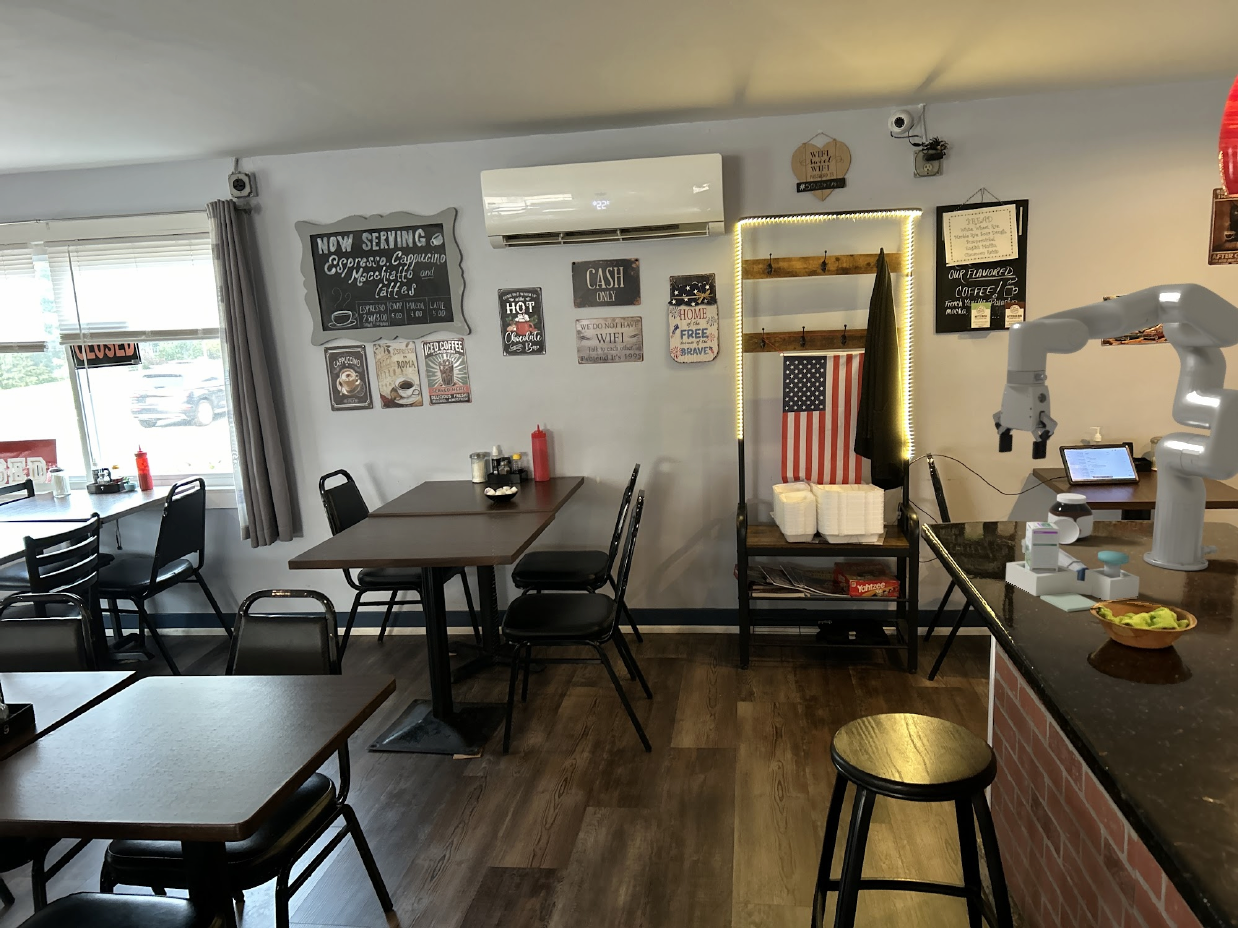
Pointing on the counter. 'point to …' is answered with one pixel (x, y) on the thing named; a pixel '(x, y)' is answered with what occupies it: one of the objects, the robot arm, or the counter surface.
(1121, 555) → the teal mushroom knob
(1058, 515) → the spread jar
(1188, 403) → the robot arm
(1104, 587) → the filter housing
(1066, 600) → the mat
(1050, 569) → the syrup box
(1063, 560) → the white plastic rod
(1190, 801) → the counter surface
